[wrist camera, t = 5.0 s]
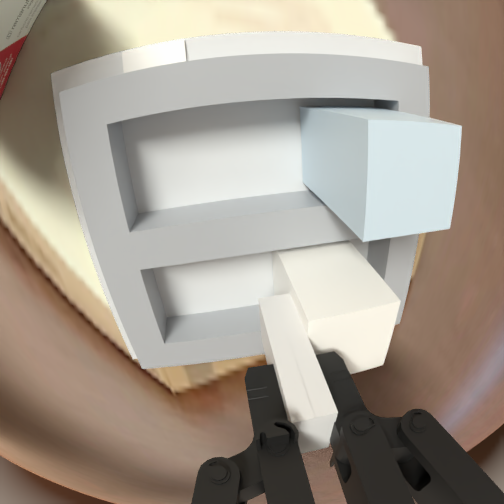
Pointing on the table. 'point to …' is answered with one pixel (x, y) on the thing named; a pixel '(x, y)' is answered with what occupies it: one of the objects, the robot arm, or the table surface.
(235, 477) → the robot arm
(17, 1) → the ink box
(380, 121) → the pale blue block
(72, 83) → the switch bank
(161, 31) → the table surface
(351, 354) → the ivory tab
